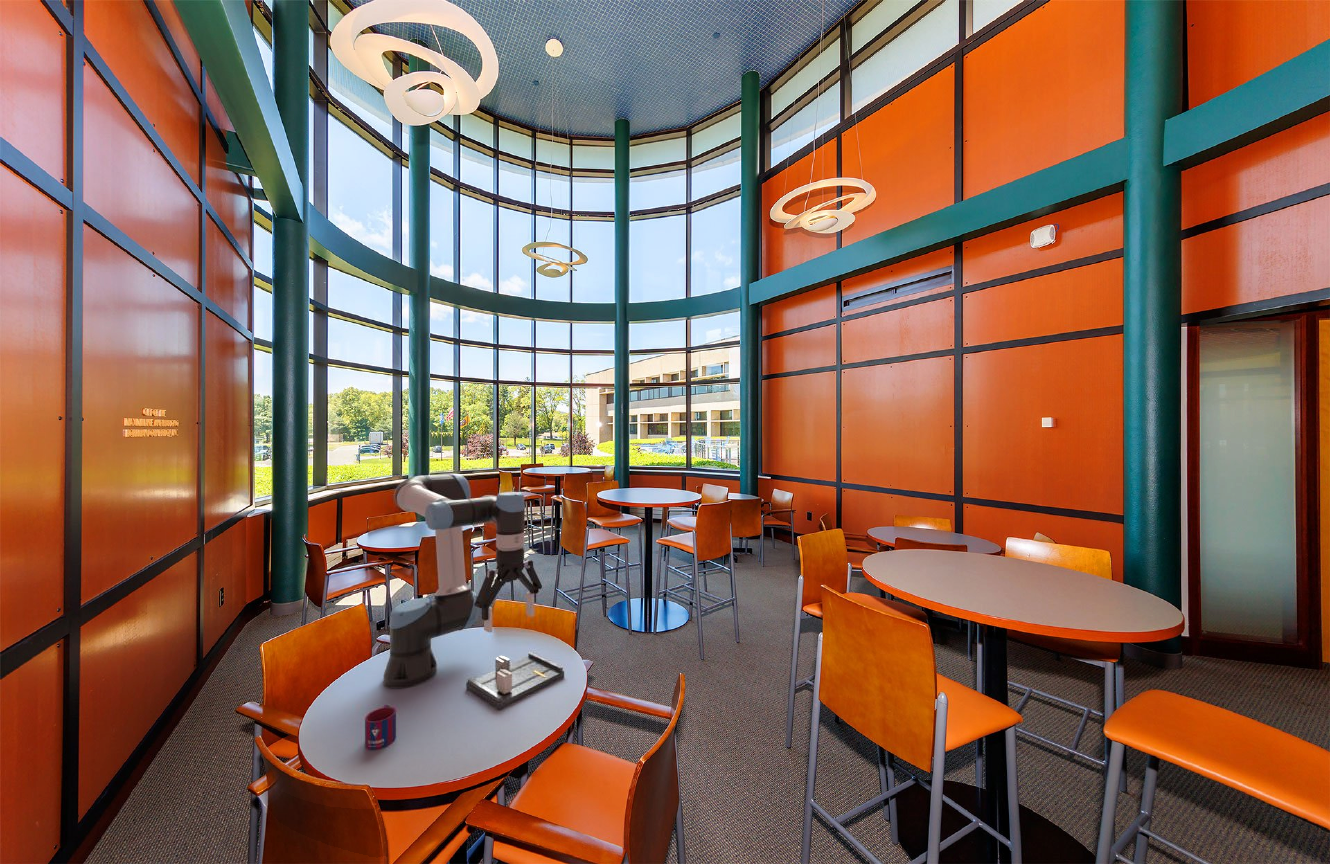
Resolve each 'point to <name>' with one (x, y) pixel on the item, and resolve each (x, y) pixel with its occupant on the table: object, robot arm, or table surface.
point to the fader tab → (504, 681)
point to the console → (515, 680)
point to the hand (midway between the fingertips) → (510, 622)
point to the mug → (380, 728)
